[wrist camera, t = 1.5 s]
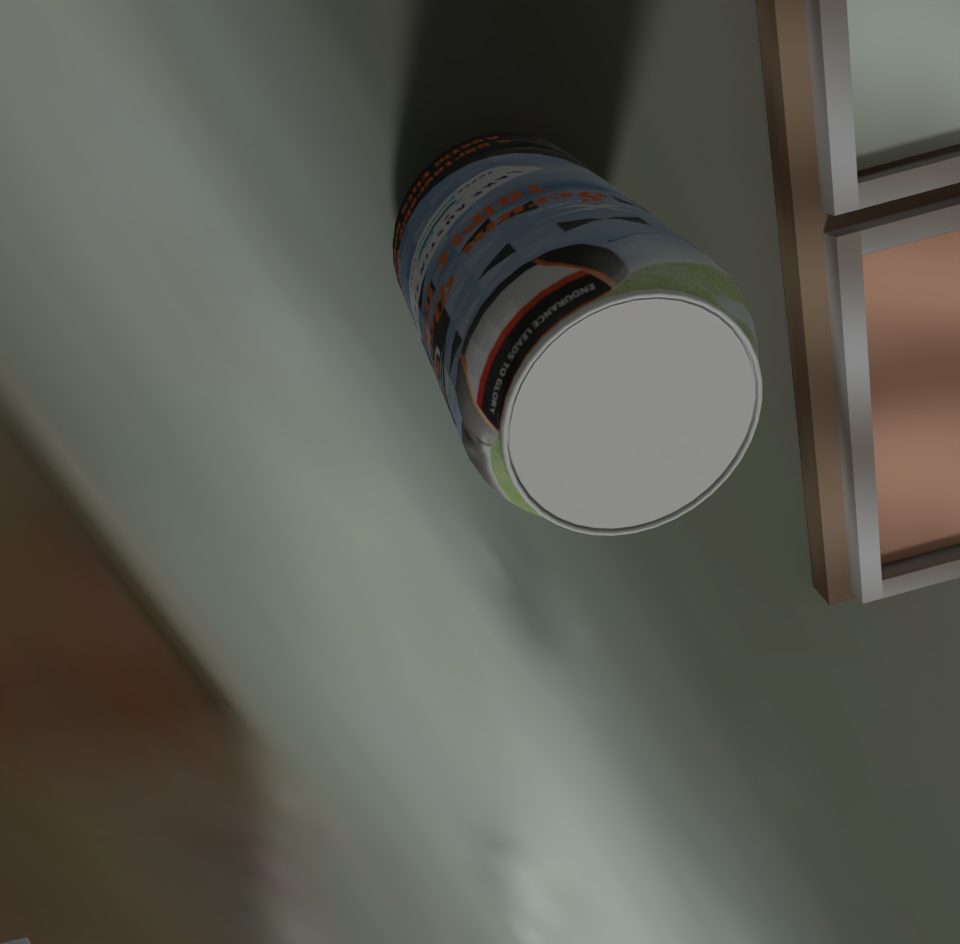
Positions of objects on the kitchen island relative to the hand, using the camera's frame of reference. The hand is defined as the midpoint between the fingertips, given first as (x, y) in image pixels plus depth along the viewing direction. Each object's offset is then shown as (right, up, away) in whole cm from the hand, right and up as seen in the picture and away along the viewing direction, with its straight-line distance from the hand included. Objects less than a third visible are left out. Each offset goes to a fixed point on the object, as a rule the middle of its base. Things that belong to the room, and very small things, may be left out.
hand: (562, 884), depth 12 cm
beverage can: (0, +11, +15) cm, 19 cm away
